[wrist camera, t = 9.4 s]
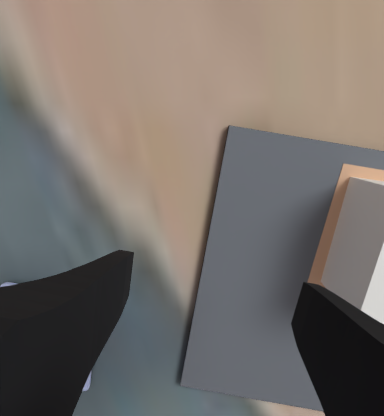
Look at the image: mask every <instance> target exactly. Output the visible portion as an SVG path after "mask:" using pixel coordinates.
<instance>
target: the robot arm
mask: <svg viewBox="0 0 384 416" xmlns="http://www.w3.org/2000/svg"><path fill="white" fill-rule="evenodd" d="M133 256H134V252H129V251H123V250H118V251H115V252H112V253H110V254H108V255H106V256H103V257H101V258H99V259H97V260H94V261H92V262H90V263H87V264H85V265H82V266H80V267H77V268H74V269H72V270H69V271H66V272H63V273H60V274H57V275H54V276H50V277H47V278H43V279H39V280H35V281H30V282H25V283H20V284H17V283H11V282H5V283H3V284H2V285H1V286H0V416H72V414H73V412H74V409H75V407H76V404H77V402H78V400H79V397H80V395H81V393H82V391H86V390H88V389H89V387H90V383H91V371H92V368H93V366H94V364H95V362H96V360H97V358H98V357H99V355H100V353H101V351H102V349H103V347H104V346H105V344H106V342H107V340H108V338H109V337H110V335H111V333H112V331H113V329H114V328H115V326H116V324H117V322H118V320H119V318H120V316H121V314H122V312H123V309H124V307H125V304H126V301H127V299H128V296H129V290H130V281H131V273H132V264H133ZM291 326H292V330H293V334H294V338H295V341H296V345H297V348H298V350H299V353H300V355H301V358H302V360H303V363H304V365H305V367H306V370H307V372H308V374H309V377H310V379H311V382H312V384H313V386H314V389H315V391H316V393H317V396H318V398H319V400H320V403H321V406H322V408H323V411H324V413H325V416H384V324H382V323H380V322H379V321H377V320H375V319H374V318H372V317H371V316H369V315H367V314H366V313H364V312H363V311H361V310H360V309H358V308H356V307H355V306H353V305H352V304H350V303H349V302H347V301H346V300H344V299H343V298H341V297H339V296H338V295H336V294H335V293H333V292H331V291H330V290H328V289H326V288H325V287H323V286H321V285H318V284H313V283H308V282H303V285H302V288H301V291H300V295H299V298H298V302H297V305H296V308H295V312H294V315H293V318H292V322H291Z"/></svg>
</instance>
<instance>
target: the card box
mask: <svg viewBox="0 0 384 416" xmlns="http://www.w3.org/2000/svg"><path fill="white" fill-rule="evenodd" d="M321 283H322V284H323V285H324V286H325V288H326V289H328V290H330V291H331V292H333V293H335V294H336V295H338V296H339V297H341V298H343V299H344V300H346V301H347V302H349V303H350V304H352V305H353V306H355V307H356V308H358V309H360V310H361V311H363V312H364V313H366V314H367V315H369V316H371V317H372V318H374V319H375V320H377V321H379V322H380V323H382V324H384V181H378V180H371V179H364V178H356V177H350V179H349V183H348V186H347V190H346V193H345V197H344V200H343V204H342V207H341V211H340V214H339V218H338V221H337V225H336V229H335V232H334V236H333V239H332V243H331V246H330V250H329V253H328V257H327V260H326V264H325V267H324V271H323V275H322V278H321Z"/></svg>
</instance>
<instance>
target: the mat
mask: <svg viewBox="0 0 384 416" xmlns="http://www.w3.org/2000/svg"><path fill="white" fill-rule="evenodd" d="M350 177H356V178H364V179H371V180H378V181H384V151H379V150H373V149H367V148H361V147H355V146H349V145H343V144H337V143H331V142H325V141H319V140H313V139H307V138H301V137H296V136H290V135H284V134H278V133H272V132H266V131H260V130H254V129H248V128H242V127H236V126H229V128H228V133H227V139H226V144H225V149H224V155H223V160H222V165H221V170H220V176H219V181H218V186H217V192H216V197H215V202H214V208H213V213H212V218H211V223H210V229H209V234H208V239H207V245H206V250H205V255H204V260H203V266H202V271H201V276H200V282H199V287H198V292H197V298H196V303H195V308H194V313H193V319H192V324H191V329H190V335H189V340H188V345H187V351H186V356H185V361H184V366H183V372H182V377H181V384H180V386H184V387H190V388H195V389H201V390H206V391H212V392H218V393H223V394H229V395H234V396H240V397H245V398H251V399H257V400H262V401H268V402H273V403H279V404H285V405H290V406H296V407H301V408H307V409H312V410H318V411H323V408H322V406H321V403H320V400H319V398H318V396H317V393H316V391H315V389H314V386H313V384H312V382H311V379H310V377H309V374H308V372H307V370H306V367H305V365H304V363H303V360H302V358H301V355H300V353H299V350H298V348H297V345H296V341H295V338H294V334H293V330H292V326H291V322H292V318H293V315H294V312H295V308H296V305H297V302H298V298H299V295H300V291H301V288H302V285H303V282H308V283H313V284H318V285H321V286H323V287H325V286H324V285H323V284H322V283H321V278H322V275H323V271H324V267H325V264H326V260H327V257H328V253H329V250H330V246H331V243H332V239H333V236H334V232H335V229H336V225H337V221H338V218H339V214H340V211H341V207H342V204H343V200H344V197H345V193H346V190H347V186H348V183H349V179H350Z"/></svg>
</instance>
